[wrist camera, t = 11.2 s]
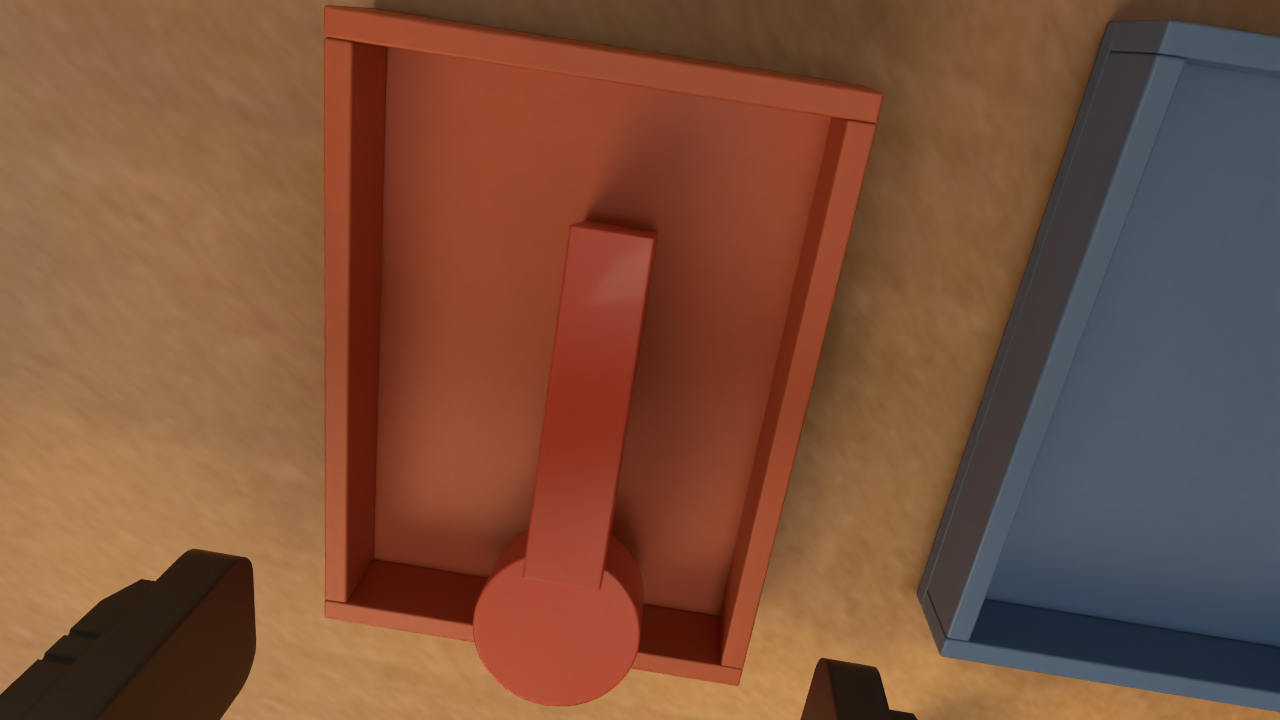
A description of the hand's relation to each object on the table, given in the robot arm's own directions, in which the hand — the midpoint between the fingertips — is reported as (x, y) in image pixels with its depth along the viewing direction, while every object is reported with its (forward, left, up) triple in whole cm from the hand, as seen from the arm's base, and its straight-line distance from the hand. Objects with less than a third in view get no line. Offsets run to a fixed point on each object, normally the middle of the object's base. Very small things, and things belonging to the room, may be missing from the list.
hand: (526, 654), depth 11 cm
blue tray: (-13, +7, -11) cm, 19 cm away
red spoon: (+1, +1, -9) cm, 9 cm away
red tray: (+1, -1, -11) cm, 11 cm away
